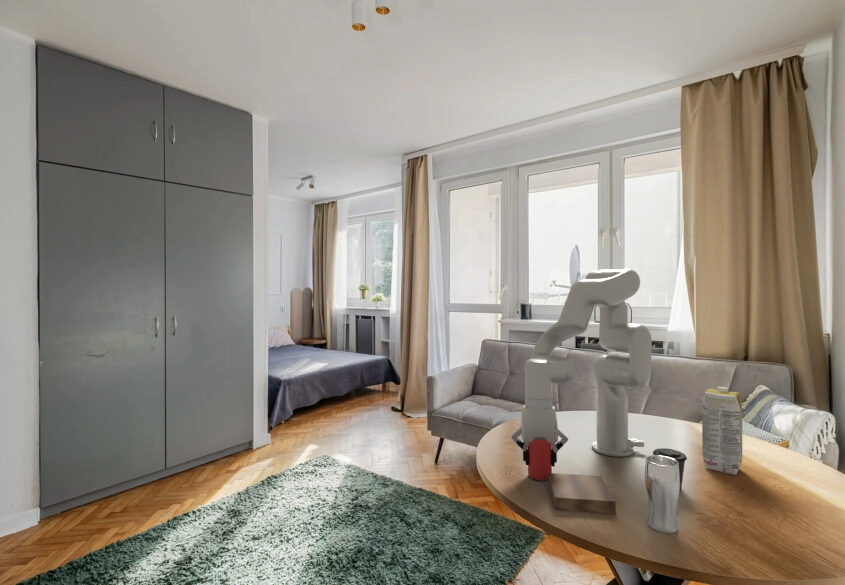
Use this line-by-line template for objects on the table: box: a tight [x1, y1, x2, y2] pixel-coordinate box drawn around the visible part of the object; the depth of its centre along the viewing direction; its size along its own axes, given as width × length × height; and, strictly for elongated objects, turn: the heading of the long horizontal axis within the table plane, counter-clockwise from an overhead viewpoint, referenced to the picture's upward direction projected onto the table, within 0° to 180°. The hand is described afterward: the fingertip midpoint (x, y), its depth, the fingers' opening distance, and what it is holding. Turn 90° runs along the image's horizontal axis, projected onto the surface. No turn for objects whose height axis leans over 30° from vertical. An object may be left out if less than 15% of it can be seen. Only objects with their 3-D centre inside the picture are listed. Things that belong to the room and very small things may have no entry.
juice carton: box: [701, 386, 743, 476], centre depth 127 cm, size 9×8×24 cm
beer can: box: [527, 438, 553, 482], centre depth 124 cm, size 7×7×12 cm
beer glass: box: [644, 454, 680, 534], centre depth 98 cm, size 7×7×15 cm
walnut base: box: [547, 472, 617, 515], centre depth 111 cm, size 14×14×3 cm
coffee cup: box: [652, 448, 688, 493], centre depth 116 cm, size 8×8×10 cm
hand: (539, 463), depth 124 cm, fingers closed on beer can, 6 cm apart
